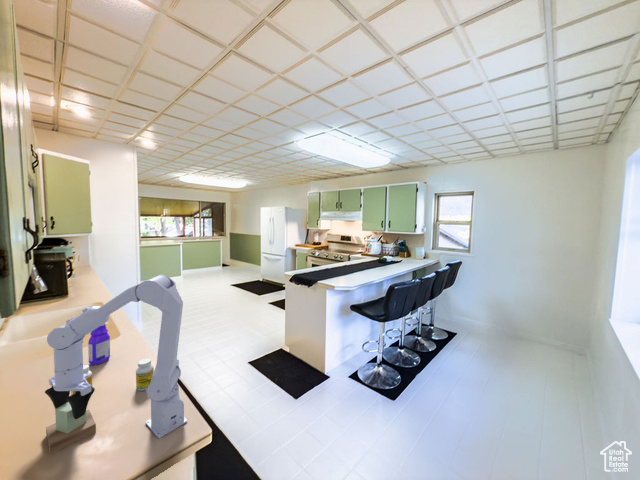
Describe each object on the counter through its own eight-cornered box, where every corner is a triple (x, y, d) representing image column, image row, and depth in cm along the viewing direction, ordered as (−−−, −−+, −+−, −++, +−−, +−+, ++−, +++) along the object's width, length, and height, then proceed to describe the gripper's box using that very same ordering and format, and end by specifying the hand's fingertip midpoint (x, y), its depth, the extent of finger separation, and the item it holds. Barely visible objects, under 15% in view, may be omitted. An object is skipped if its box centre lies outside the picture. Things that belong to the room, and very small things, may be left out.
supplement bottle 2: (153, 380, 97) (153, 356, 97) (154, 388, 93) (153, 362, 92) (136, 385, 94) (136, 360, 94) (135, 393, 90) (135, 366, 89)
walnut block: (96, 434, 73) (95, 423, 72) (50, 455, 66) (49, 444, 65) (89, 418, 78) (88, 409, 78) (46, 437, 71) (46, 427, 71)
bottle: (102, 357, 114) (101, 318, 113) (113, 358, 113) (112, 319, 113) (85, 365, 107) (84, 324, 106) (97, 366, 106) (96, 325, 105)
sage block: (86, 421, 73) (86, 401, 73) (67, 433, 69) (66, 412, 69) (75, 418, 74) (74, 398, 74) (56, 430, 70) (55, 409, 70)
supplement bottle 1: (95, 392, 90) (95, 365, 89) (76, 401, 85) (75, 373, 85) (87, 388, 92) (87, 362, 92) (68, 397, 87) (67, 369, 87)
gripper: (103, 363, 73) (104, 409, 73) (70, 355, 77) (71, 398, 78) (72, 377, 66) (74, 427, 66) (38, 367, 70) (40, 414, 71)
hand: (70, 413), depth 72 cm, fingers open, 7 cm apart
